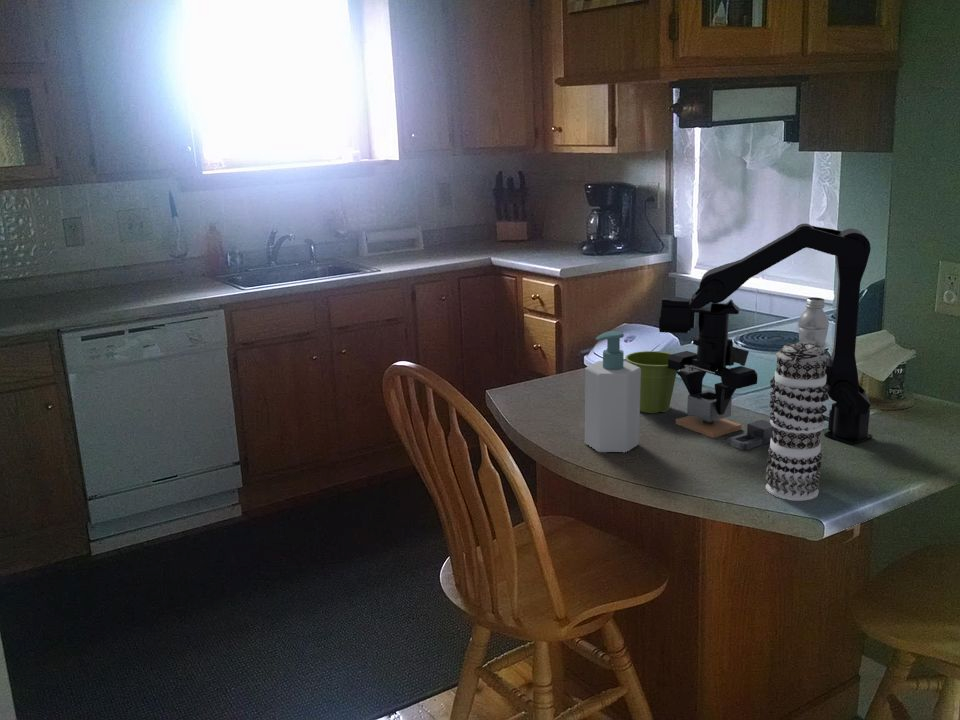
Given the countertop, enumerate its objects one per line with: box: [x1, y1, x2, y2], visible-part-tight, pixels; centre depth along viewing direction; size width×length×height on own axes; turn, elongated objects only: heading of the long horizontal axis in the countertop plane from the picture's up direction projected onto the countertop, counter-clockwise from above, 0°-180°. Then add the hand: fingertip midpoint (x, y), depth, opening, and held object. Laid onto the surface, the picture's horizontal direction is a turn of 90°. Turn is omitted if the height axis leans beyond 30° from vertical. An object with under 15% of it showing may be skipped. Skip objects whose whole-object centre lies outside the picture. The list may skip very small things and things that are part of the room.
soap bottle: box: [584, 330, 641, 454], centre depth 172 cm, size 10×9×22 cm
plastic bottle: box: [797, 296, 830, 353], centre depth 206 cm, size 6×7×20 cm
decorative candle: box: [765, 341, 830, 502], centre depth 150 cm, size 9×9×25 cm
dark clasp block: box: [726, 419, 773, 452], centre depth 174 cm, size 4×10×3 cm, turn 123°
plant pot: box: [624, 350, 679, 414], centre depth 194 cm, size 12×12×11 cm
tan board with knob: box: [675, 399, 742, 439], centre depth 183 cm, size 10×8×6 cm
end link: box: [686, 389, 733, 422], centre depth 182 cm, size 6×6×4 cm
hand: (709, 410), depth 183 cm, fingers closed on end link, 6 cm apart
